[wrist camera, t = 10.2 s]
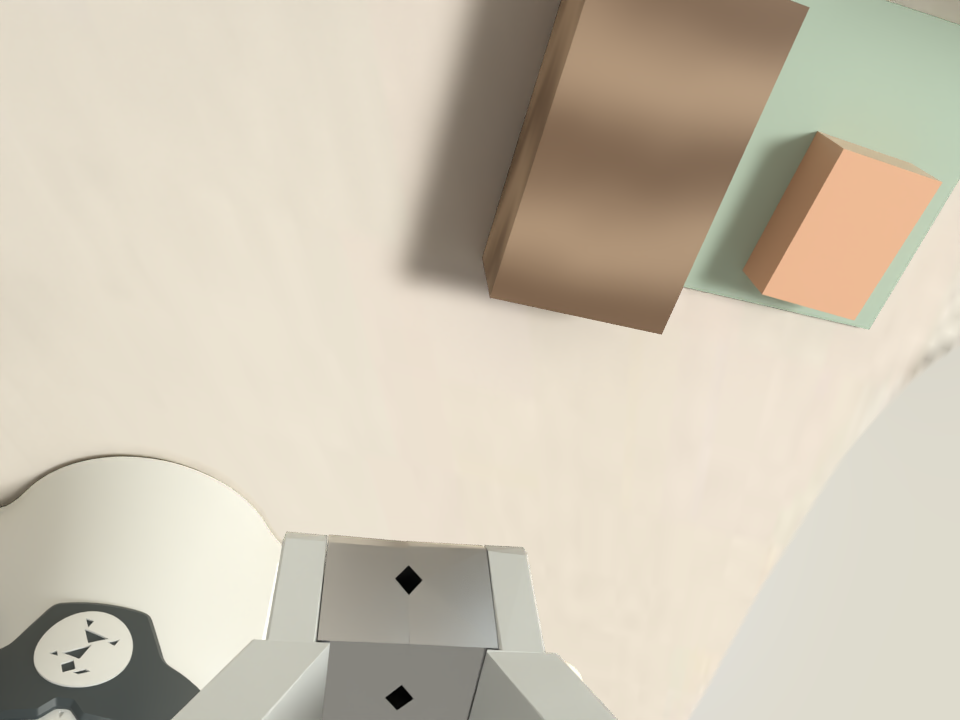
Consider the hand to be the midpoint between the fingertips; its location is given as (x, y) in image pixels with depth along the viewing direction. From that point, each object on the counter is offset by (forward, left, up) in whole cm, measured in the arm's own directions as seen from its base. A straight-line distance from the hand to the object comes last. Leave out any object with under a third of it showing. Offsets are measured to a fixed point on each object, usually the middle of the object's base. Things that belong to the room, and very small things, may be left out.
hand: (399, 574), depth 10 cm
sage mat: (+1, -20, -27) cm, 34 cm away
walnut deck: (0, -9, -27) cm, 29 cm away
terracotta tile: (-1, -20, -24) cm, 32 cm away
